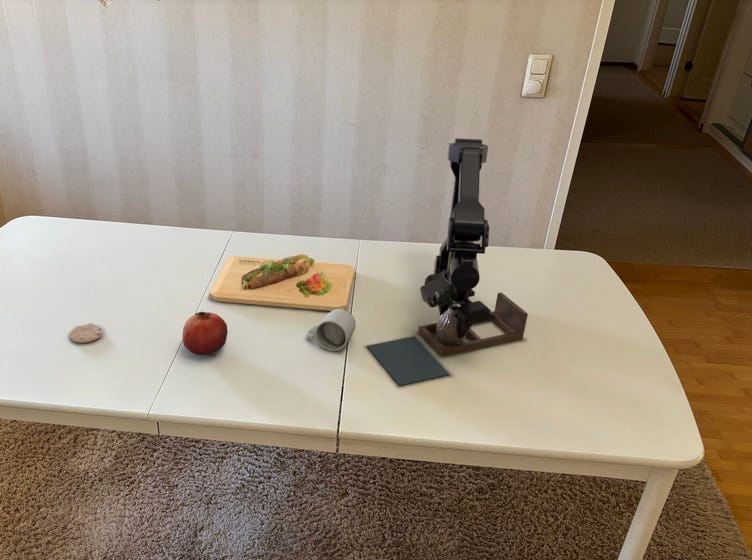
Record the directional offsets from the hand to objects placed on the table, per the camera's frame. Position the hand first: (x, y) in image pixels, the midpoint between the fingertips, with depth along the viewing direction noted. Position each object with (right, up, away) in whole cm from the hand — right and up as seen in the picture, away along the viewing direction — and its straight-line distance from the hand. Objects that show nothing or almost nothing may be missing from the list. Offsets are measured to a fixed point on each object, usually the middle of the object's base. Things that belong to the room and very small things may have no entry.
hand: (451, 329), depth 166 cm
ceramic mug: (-28, -3, +2) cm, 28 cm away
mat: (-11, -7, -5) cm, 14 cm away
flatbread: (-85, -1, +5) cm, 85 cm away
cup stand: (+5, -2, +3) cm, 6 cm away
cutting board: (-38, +12, +24) cm, 47 cm away
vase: (0, -3, +2) cm, 3 cm away
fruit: (-56, -5, -1) cm, 56 cm away
